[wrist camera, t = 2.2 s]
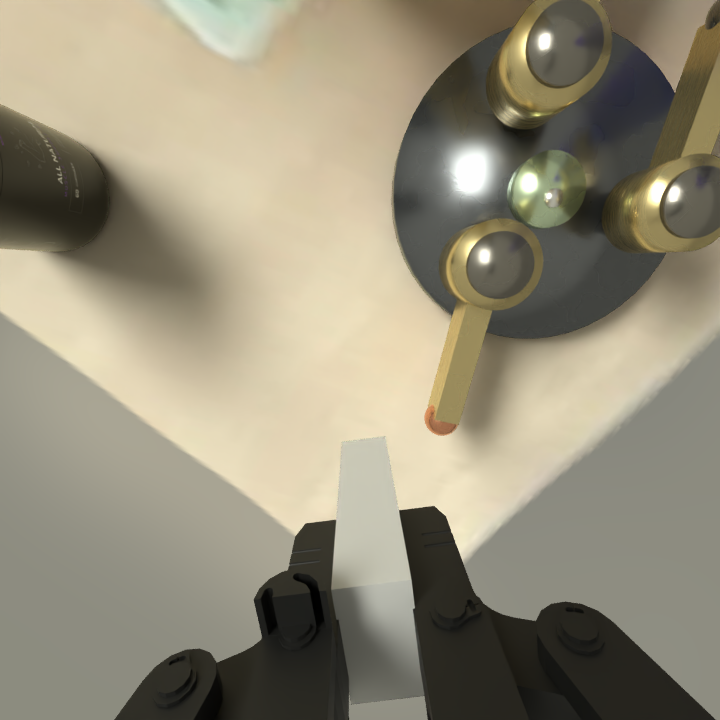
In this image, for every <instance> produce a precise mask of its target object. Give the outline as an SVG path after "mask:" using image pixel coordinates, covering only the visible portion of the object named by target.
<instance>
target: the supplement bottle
mask: <svg viewBox="0 0 720 720" xmlns="http://www.w3.org/2000/svg"><path fill="white" fill-rule="evenodd" d="M108 210H109V192H108V187H107V183H106V180H105V177H104V174H103V172H102V170H101V168H100V166H99V165H98V163H97V162H96V160H95V159H94V158H93V156H92V155H91V154H90V153H89V152H88V151H87V150H86V149H85V148H84V147H83V146H82V145H80V144H79V143H78V142H76V141H75V140H73V139H72V138H70V137H68V136H67V135H65V134H63V133H61V132H59V131H56V130H55V129H53V128H50V127H48V126H46V125H44V124H42V123H40V122H38V121H35V120H33V119H31V118H29V117H27V116H25V115H23V114H20V113H18V112H16V111H14V110H12V109H10V108H8V107H5V106H3V105H1V104H0V249H15V250H31V251H51V252H62V251H70V250H74V249H77V248H80V247H82V246H84V245H86V244H87V243H89V242H90V241H91V240H93V239H94V238H95V237H96V236H97V234H98V233H99V232H100V230H101V229H102V227H103V225H104V223H105V221H106V218H107V215H108Z"/></svg>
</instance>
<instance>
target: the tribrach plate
mask: <svg viewBox="0 0 720 720" xmlns="http://www.w3.org/2000/svg"><path fill="white" fill-rule="evenodd" d="M513 28H514V27H512V28H509V29H506V30H504V31H502V32H499V33H497V34H495V35H492V36H490V37H488V38H487V39H485V40H483V41H482V42H480V43H478V44H477V45H475V46H473V47H472V48H470V49H469V50H468V51H466V52H465V53H464V54H463V55H461V56H460V57H459V58H458V59H456V60H455V61H454V62H453V63H452V64H451V65H450V66H449V67H448V68H447V69H446V70H445V71H444V72H443V73H442V74H441V75H440V76H439V77H438V78H437V80H436V81H435V82H434V84H433V85H432V86H431V88H430V89H429V90H428V92H427V93H426V94H425V96H424V97H423V99H422V101H421V102H420V104H419V106H418V108H417V109H416V111H415V113H414V115H413V116H412V119H411V121H410V124H409V126H408V128H407V131H406V133H405V135H404V138H403V140H402V143H401V146H400V149H399V153H398V156H397V160H396V163H395V169H394V176H393V182H392V214H393V224H394V228H395V233H396V238H397V242H398V244H399V247H400V250H401V253H402V256H403V258H404V260H405V262H406V264H407V266H408V268H409V270H410V272H411V274H412V275H413V277H414V278H415V280H416V281H417V283H418V284H419V286H420V287H421V288H422V289H423V291H424V292H425V293H426V294H427V295H428V296H429V297H430V298H431V299H432V300H433V301H434V302H435V303H436V304H437V305H439V306H440V307H441V308H442V309H443V310H445V311H446V312H447V313H449V314H451V315H452V316H453V312H454V308H455V305H456V301H457V299H456V298H454V297H453V296H452V295H450V294H449V293H448V291H447V290H446V289H445V287H444V286H443V284H442V282H441V279H440V275H439V259H440V255H441V252H442V250H443V248H444V246H445V244H446V243H447V242H448V240H449V239H450V238H451V237H452V236H453V235H454V234H456V233H457V232H458V231H460V230H462V229H464V228H467V227H470V226H473V225H476V224H479V223H482V222H485V221H488V220H492V219H499V218H506V219H512V220H515V221H518V222H520V223H522V224H524V225H525V226H527V227H528V228H529V229H530V230H531V231H532V232H533V233H534V234H535V236H536V237H537V239H538V241H539V243H540V245H541V249H542V253H543V269H542V273H541V277H540V279H539V282H538V284H537V286H536V287H535V289H534V290H533V292H532V293H531V294H530V295H529V296H528V297H527V298H526V299H525V300H523V301H522V302H521V303H519V304H517V305H515V306H513V307H511V308H508V309H504V310H497V311H496V310H492V313H491V317H490V320H489V323H488V327H487V330H486V332H488V333H492V334H495V335H498V336H505V337H512V338H543V337H552V336H556V335H560V334H564V333H568V332H571V331H574V330H577V329H579V328H582V327H585V326H587V325H589V324H591V323H593V322H595V321H597V320H599V319H601V318H603V317H604V316H606V315H607V314H609V313H610V312H612V311H613V310H615V309H616V308H618V307H619V306H621V305H622V304H623V303H624V302H625V301H626V300H628V299H629V298H630V297H631V296H632V295H634V294H635V293H636V292H637V290H638V289H639V288H640V287H641V286H642V285H643V284H644V283H645V282H646V281H647V280H648V279H649V277H650V276H651V275H652V273H653V272H654V271H655V269H656V268H657V267H658V265H659V264H660V263H661V261H662V259H663V258H664V256H665V254H666V252H658V253H627V252H624V251H621V250H619V249H617V248H616V247H614V246H613V245H612V244H611V243H610V242H609V240H608V239H607V237H606V235H605V233H604V230H603V226H602V211H603V206H604V203H605V201H606V198H607V196H608V195H609V193H610V192H611V190H612V189H613V188H614V186H615V185H616V184H617V183H618V182H620V181H621V180H622V179H623V178H625V177H627V176H629V175H630V174H633V173H636V172H639V171H642V170H645V169H648V168H649V165H650V163H651V160H652V157H653V154H654V151H655V149H656V146H657V143H658V140H659V137H660V134H661V132H662V129H663V126H664V123H665V120H666V118H667V115H668V112H669V109H670V106H671V103H672V101H673V98H674V95H675V93H674V91H673V89H672V87H671V85H670V83H669V82H668V80H667V79H666V78H665V76H664V75H663V73H662V72H661V70H660V69H659V68H658V67H657V66H656V64H655V63H654V62H653V61H652V60H651V59H650V58H649V57H648V56H647V55H646V54H645V53H644V52H643V51H641V50H640V49H639V48H638V47H636V46H635V45H634V44H633V43H631V42H630V41H628V40H626V39H625V38H623V37H621V36H619V35H617V34H616V33H614V32H612V48H611V54H610V58H609V61H608V64H607V67H606V69H605V71H604V73H603V75H602V76H601V78H600V79H599V81H598V82H597V83H596V84H595V86H594V87H593V88H591V89H590V90H589V91H588V92H587V93H586V94H584V95H583V96H582V97H580V98H579V99H577V100H576V101H575V102H573V103H572V104H571V105H569V106H568V107H567V108H565V109H564V110H563V111H561V112H560V113H558V114H557V115H556V116H554V117H553V118H552V119H550V120H549V121H548V122H546V123H544V124H543V125H541V126H538V127H536V128H532V129H515V128H512V127H510V126H508V125H506V124H504V123H503V122H501V121H500V120H499V119H498V118H497V117H496V116H495V114H494V113H493V111H492V110H491V108H490V105H489V103H488V100H487V95H486V77H487V72H488V69H489V66H490V64H491V62H492V60H493V58H494V56H495V55H496V53H497V52H498V50H499V49H500V47H501V46H502V45H503V43H504V42H505V40H506V39H507V37H508V36H509V34H510V33H511V31H512V30H513Z"/></svg>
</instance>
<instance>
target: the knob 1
mask: <svg viewBox="0 0 720 720" xmlns="http://www.w3.org/2000/svg"><path fill="white" fill-rule="evenodd" d="M542 269H543V253H542V249H541V245H540V243H539V241H538V239H537V237H536V236H535V234H534V233H533V232H532V231H531V230H530V229H529V228H528V227H527V226H525V225H524V224H522V223H520V222H518V221H515V220H512V219H506V218H499V219H492V220H488V221H485V222H482V223H479V224H476V225H473V226H470V227H467V228H464V229H462V230H460V231H458V232H457V233H456V234H454V235H453V236H452V237H451V238H450V239H449V240H448V242H447V243H446V244H445V246H444V248H443V250H442V252H441V255H440V259H439V275H440V279H441V282H442V284H443V286H444V287H445V289H446V290H447V291H448V293H449V294H450V295H452V296H453V297H454V298H456V299H457V301H456V305H455V308H454V312H453V316H452V319H451V323H450V327H449V330H448V334H447V338H446V341H445V345H444V349H443V352H442V356H441V360H440V363H439V367H438V371H437V374H436V378H435V382H434V385H433V389H432V393H431V396H430V400H429V404H428V408H427V410H426V412H425V417H424V419H425V424H426V426H427V428H428V429H429V430H430V431H431V432H432V433H434V434H436V435H440V436H444V435H448V434H451V433H452V432H453V431H454V430H455V429H456V428H457V426H458V425H459V422H460V418H461V415H462V412H463V408H464V405H465V401H466V398H467V395H468V391H469V388H470V384H471V381H472V378H473V374H474V371H475V367H476V364H477V361H478V357H479V354H480V351H481V347H482V344H483V340H484V337H485V334H486V330H487V327H488V323H489V320H490V317H491V313H492V310H496V311H497V310H504V309H508V308H511V307H513V306H515V305H517V304H519V303H521V302H522V301H523V300H525V299H526V298H527V297H528V296H529V295H530V294H531V293H532V292H533V290H534V289H535V287H536V286H537V284H538V282H539V279H540V277H541V273H542Z"/></svg>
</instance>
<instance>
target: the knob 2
mask: <svg viewBox="0 0 720 720" xmlns="http://www.w3.org/2000/svg"><path fill="white" fill-rule="evenodd" d="M719 132H720V0H717V1H716V2H715V3H714V4H713V6H712V7H711V8H710V10H709V12H708V14H707V17H706V20H705V24H704V25H703V26H701V27H700V28H698V30H697V33H696V36H695V38H694V41H693V44H692V47H691V50H690V53H689V55H688V58H687V61H686V64H685V67H684V70H683V72H682V75H681V78H680V81H679V84H678V86H677V89H676V92H675V95H674V98H673V101H672V103H671V106H670V109H669V112H668V115H667V118H666V120H665V123H664V126H663V129H662V132H661V134H660V137H659V140H658V143H657V146H656V149H655V151H654V154H653V157H652V160H651V163H650V165H649V168H648V169H645V170H642V171H639V172H636V173H633V174H630V175H629V176H627V177H625V178H623V179H622V180H621V181H620V182H618V183H617V184H616V185H615V186H614V188H613V189H612V190H611V192H610V193H609V195H608V196H607V198H606V201H605V203H604V206H603V211H602V226H603V230H604V233H605V235H606V237H607V239H608V240H609V242H610V243H611V244H612V245H613V246H614V247H616V248H617V249H619V250H621V251H624V252H627V253H658V252H685V251H693V250H698V249H700V248H703V247H705V246H707V245H709V244H711V243H712V242H714V241H715V240H716V239H717V238H719V237H720V158H719V157H717V156H714V155H711V153H712V150H713V147H714V145H715V142H716V140H717V137H718V134H719Z"/></svg>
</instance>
